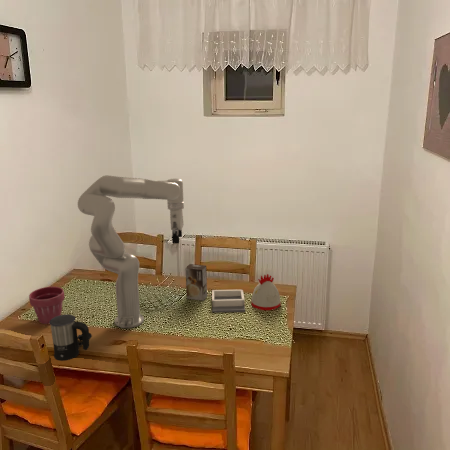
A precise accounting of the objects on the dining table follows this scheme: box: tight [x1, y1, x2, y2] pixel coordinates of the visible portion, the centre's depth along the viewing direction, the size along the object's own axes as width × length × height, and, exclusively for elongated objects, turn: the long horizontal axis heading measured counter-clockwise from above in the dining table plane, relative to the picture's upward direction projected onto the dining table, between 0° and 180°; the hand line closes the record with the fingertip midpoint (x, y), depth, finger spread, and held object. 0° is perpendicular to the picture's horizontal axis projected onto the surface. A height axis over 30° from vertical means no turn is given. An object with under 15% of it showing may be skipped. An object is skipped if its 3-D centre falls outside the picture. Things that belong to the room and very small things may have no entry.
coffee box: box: [184, 263, 208, 301], centre depth 218 cm, size 9×6×16 cm
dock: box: [211, 289, 246, 314], centre depth 213 cm, size 20×15×4 cm
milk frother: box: [49, 314, 93, 362], centre depth 173 cm, size 14×16×15 cm
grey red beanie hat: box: [250, 273, 281, 311], centre depth 210 cm, size 14×14×15 cm
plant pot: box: [28, 286, 66, 325], centre depth 197 cm, size 14×14×13 cm
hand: (177, 240), depth 214 cm, fingers open, 9 cm apart
